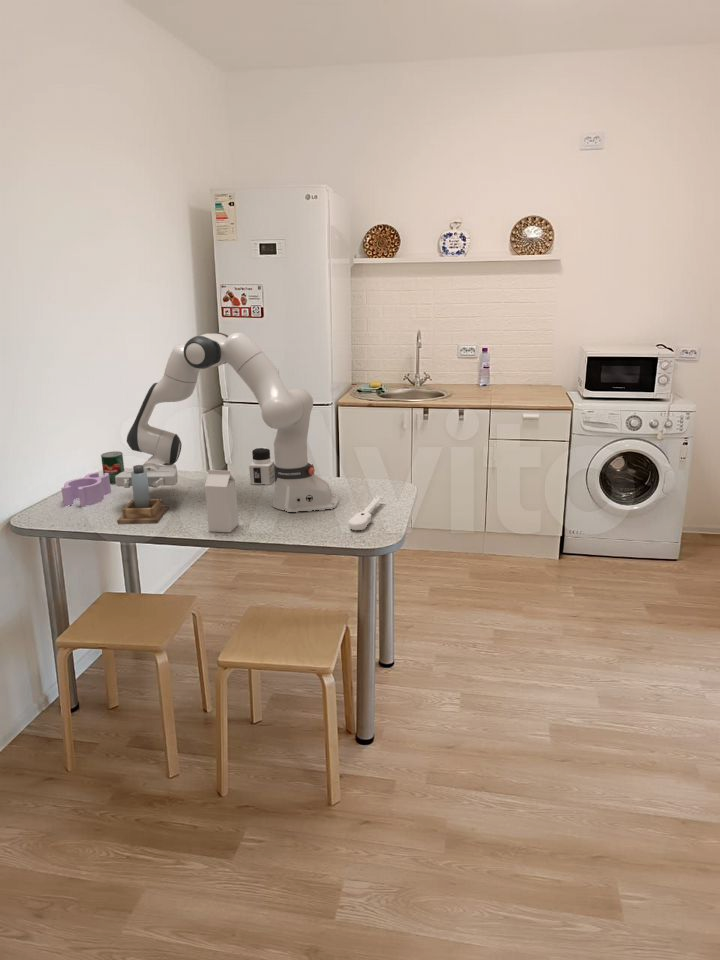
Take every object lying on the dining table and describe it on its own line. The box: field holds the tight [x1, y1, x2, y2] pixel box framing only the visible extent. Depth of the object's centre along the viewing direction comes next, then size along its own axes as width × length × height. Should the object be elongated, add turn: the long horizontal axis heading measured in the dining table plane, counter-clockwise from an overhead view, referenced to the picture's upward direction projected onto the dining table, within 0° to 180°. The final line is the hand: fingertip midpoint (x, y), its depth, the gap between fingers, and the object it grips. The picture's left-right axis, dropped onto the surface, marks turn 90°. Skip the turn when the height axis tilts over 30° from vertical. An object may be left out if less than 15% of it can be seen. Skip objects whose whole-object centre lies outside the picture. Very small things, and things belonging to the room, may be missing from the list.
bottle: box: [131, 464, 151, 508], centre depth 234 cm, size 5×5×16 cm
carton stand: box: [116, 498, 170, 525], centre depth 236 cm, size 13×14×4 cm
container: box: [248, 447, 275, 486], centre depth 269 cm, size 8×8×13 cm
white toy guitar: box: [348, 495, 384, 531], centre depth 230 cm, size 28×6×3 cm, turn 162°
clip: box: [60, 472, 112, 508], centre depth 256 cm, size 20×12×7 cm, turn 168°
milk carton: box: [204, 469, 239, 533], centre depth 221 cm, size 7×7×19 cm
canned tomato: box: [100, 450, 125, 485], centre depth 275 cm, size 8×8×11 cm
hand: (140, 485), depth 234 cm, fingers open, 8 cm apart
